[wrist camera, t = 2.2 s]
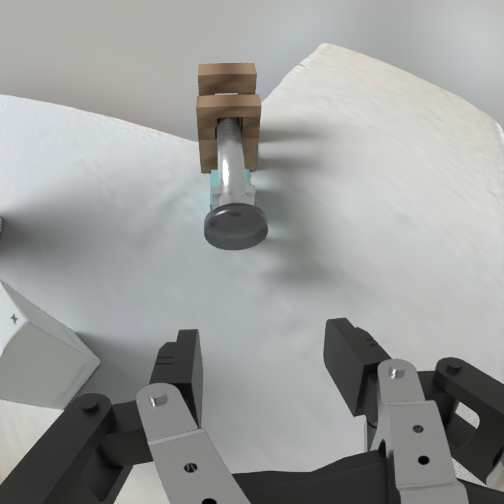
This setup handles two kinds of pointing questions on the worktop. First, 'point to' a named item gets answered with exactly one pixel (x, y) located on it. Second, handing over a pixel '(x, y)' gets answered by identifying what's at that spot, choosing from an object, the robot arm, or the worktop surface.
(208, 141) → the bearing stand
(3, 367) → the skincare box
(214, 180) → the block
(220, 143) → the shaft
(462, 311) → the worktop surface
